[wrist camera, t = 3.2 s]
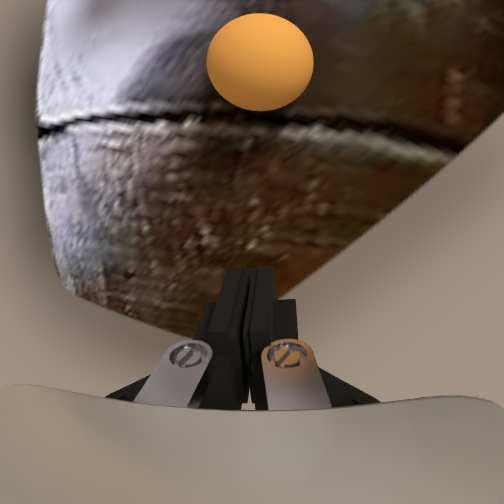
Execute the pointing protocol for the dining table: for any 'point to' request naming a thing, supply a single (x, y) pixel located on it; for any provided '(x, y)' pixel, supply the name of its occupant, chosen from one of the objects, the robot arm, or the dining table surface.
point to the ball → (260, 62)
